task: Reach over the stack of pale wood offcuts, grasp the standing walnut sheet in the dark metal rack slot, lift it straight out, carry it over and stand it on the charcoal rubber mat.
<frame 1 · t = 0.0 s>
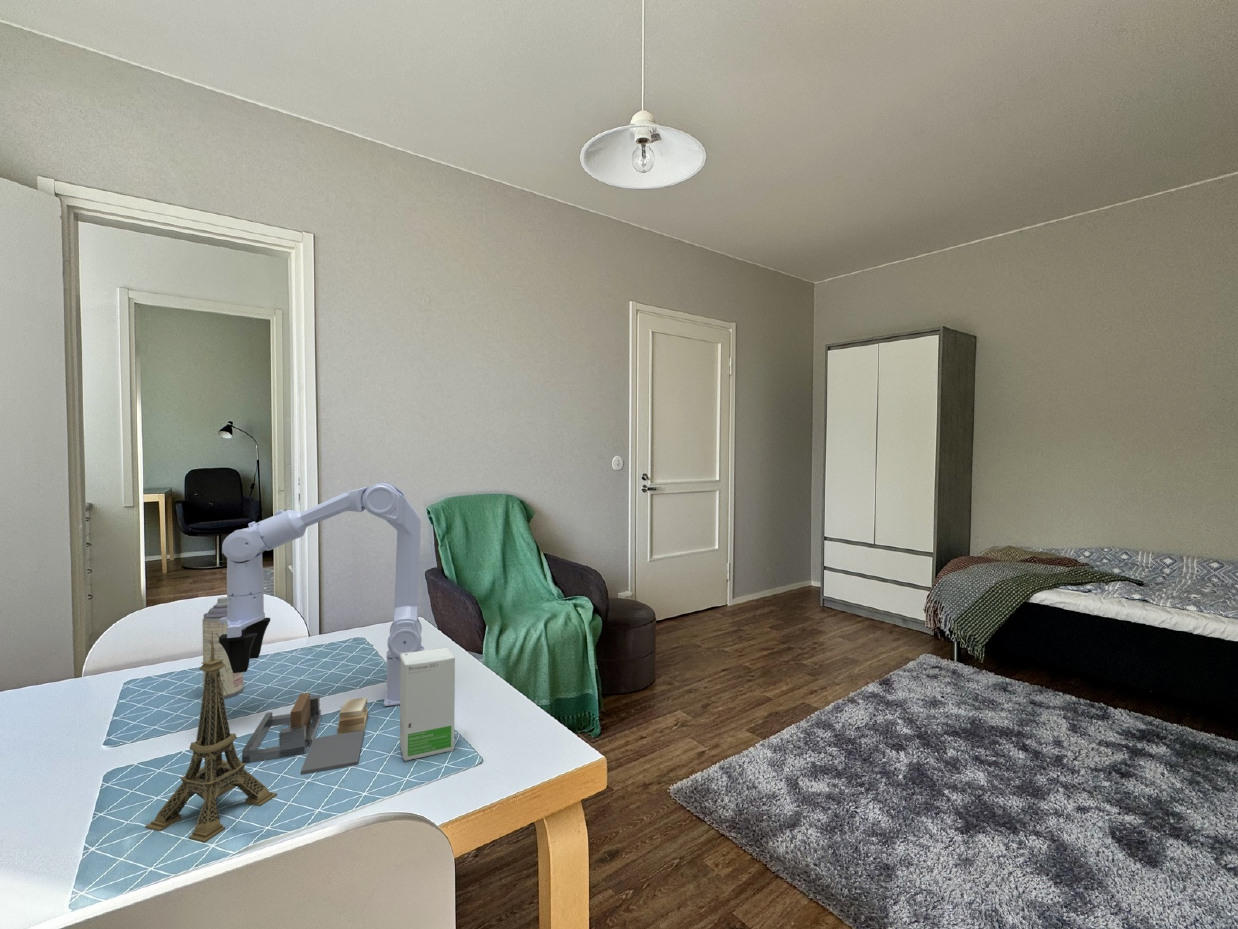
hand: (246, 665, 106), 10 cm above the table, tool pointing down, fingers open, 7 cm apart
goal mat: (334, 752, 93), on the table
eiffel tower: (214, 812, 78), on the table
rack: (320, 732, 100), on the table
offcut stack: (353, 724, 103), on the table
skincare box: (427, 748, 94), on the table
walnut sheet: (301, 736, 99), resting in rack
aerosol can: (223, 694, 117), on the table
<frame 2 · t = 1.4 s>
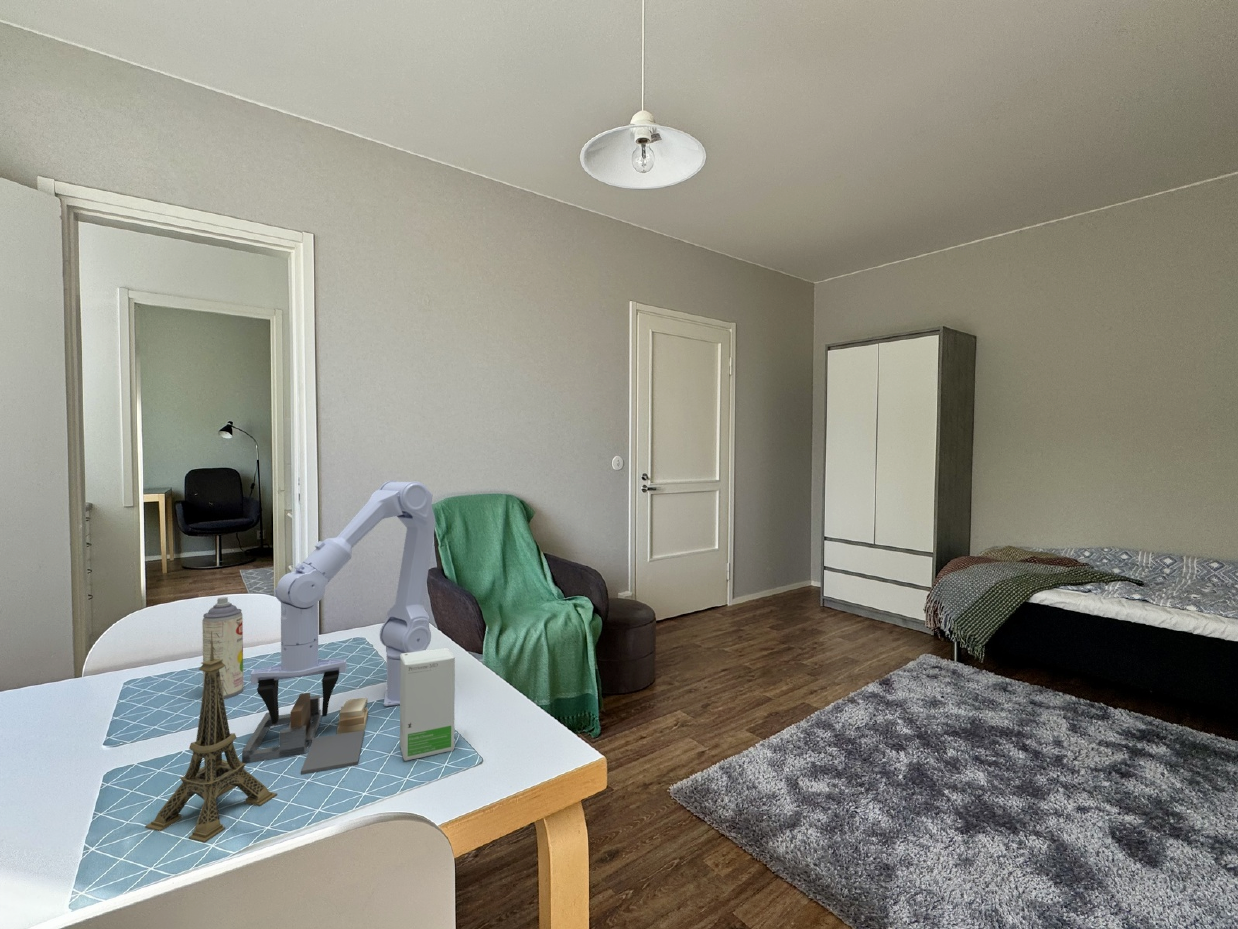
hand: (300, 717, 99), 3 cm above the table, tool pointing down, fingers open, 7 cm apart
nothing on the table moved.
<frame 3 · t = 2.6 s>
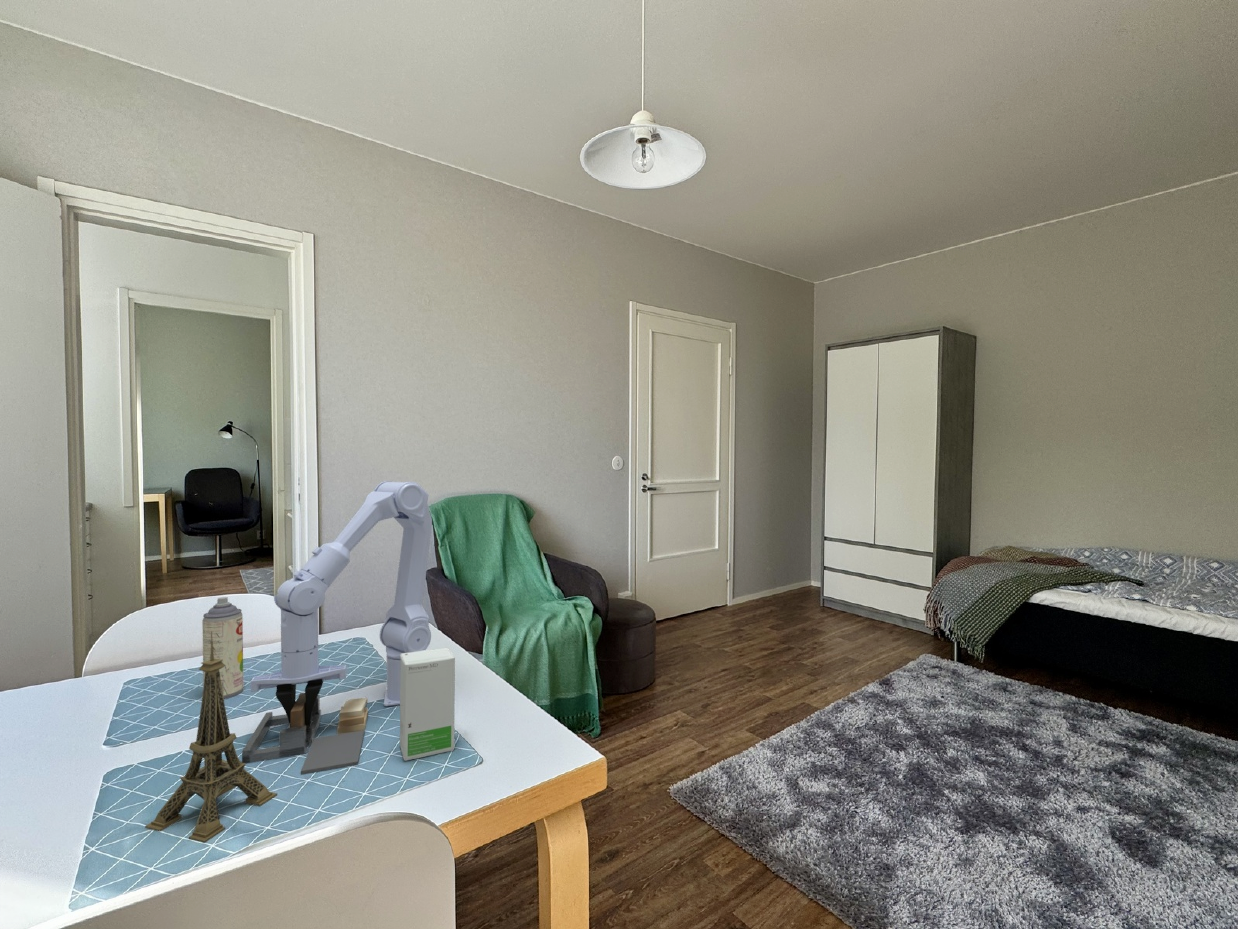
hand: (301, 724, 99), 2 cm above the table, tool pointing down, fingers closed on walnut sheet, 2 cm apart
walnut sheet: (301, 735, 99), resting in rack, touching gripper
everything else where it was.
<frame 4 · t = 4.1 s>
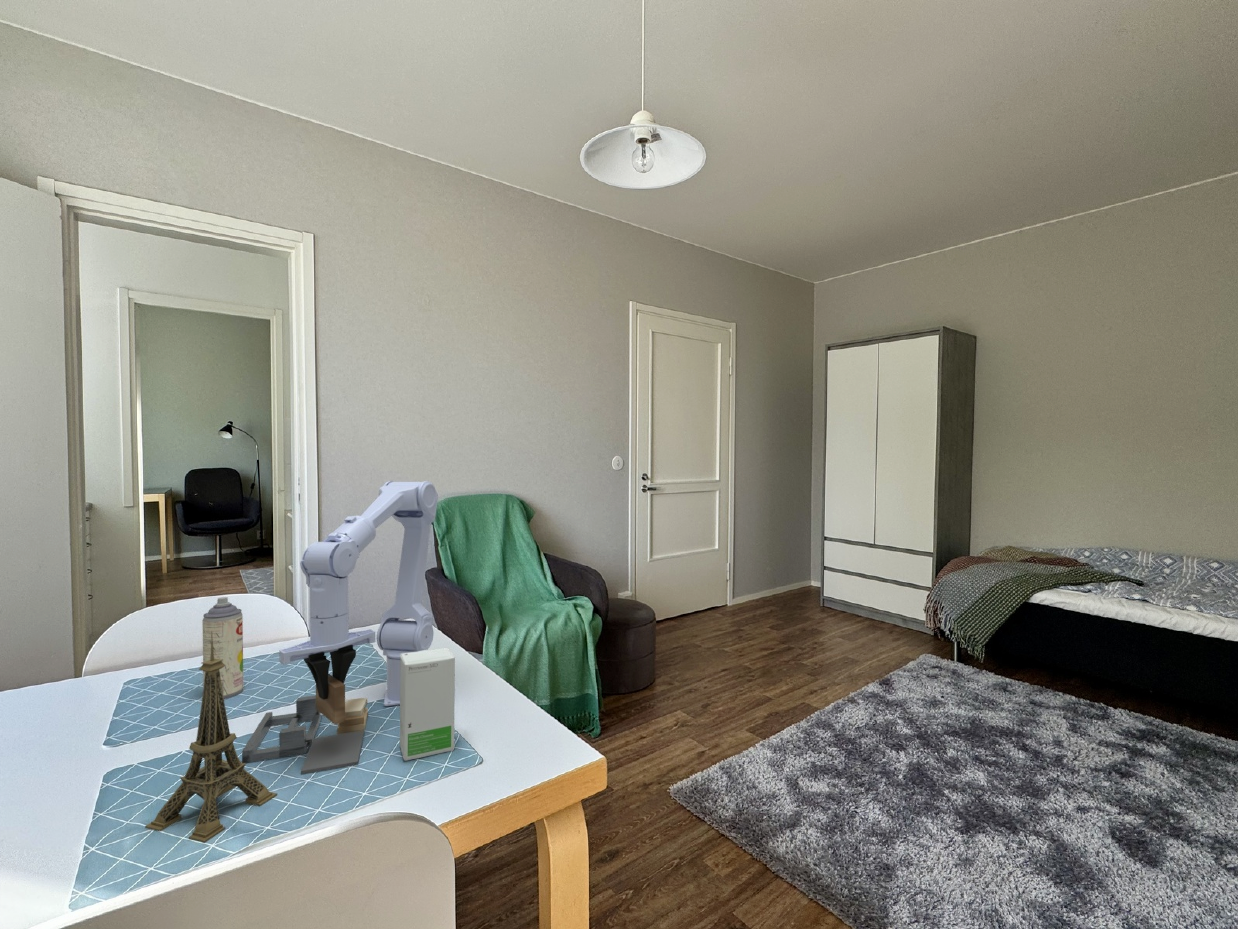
hand: (330, 695, 93), 9 cm above the table, tool pointing down, fingers closed on walnut sheet
walnut sheet: (330, 715, 94), point 6 cm above the table, touching gripper
everything else where it was.
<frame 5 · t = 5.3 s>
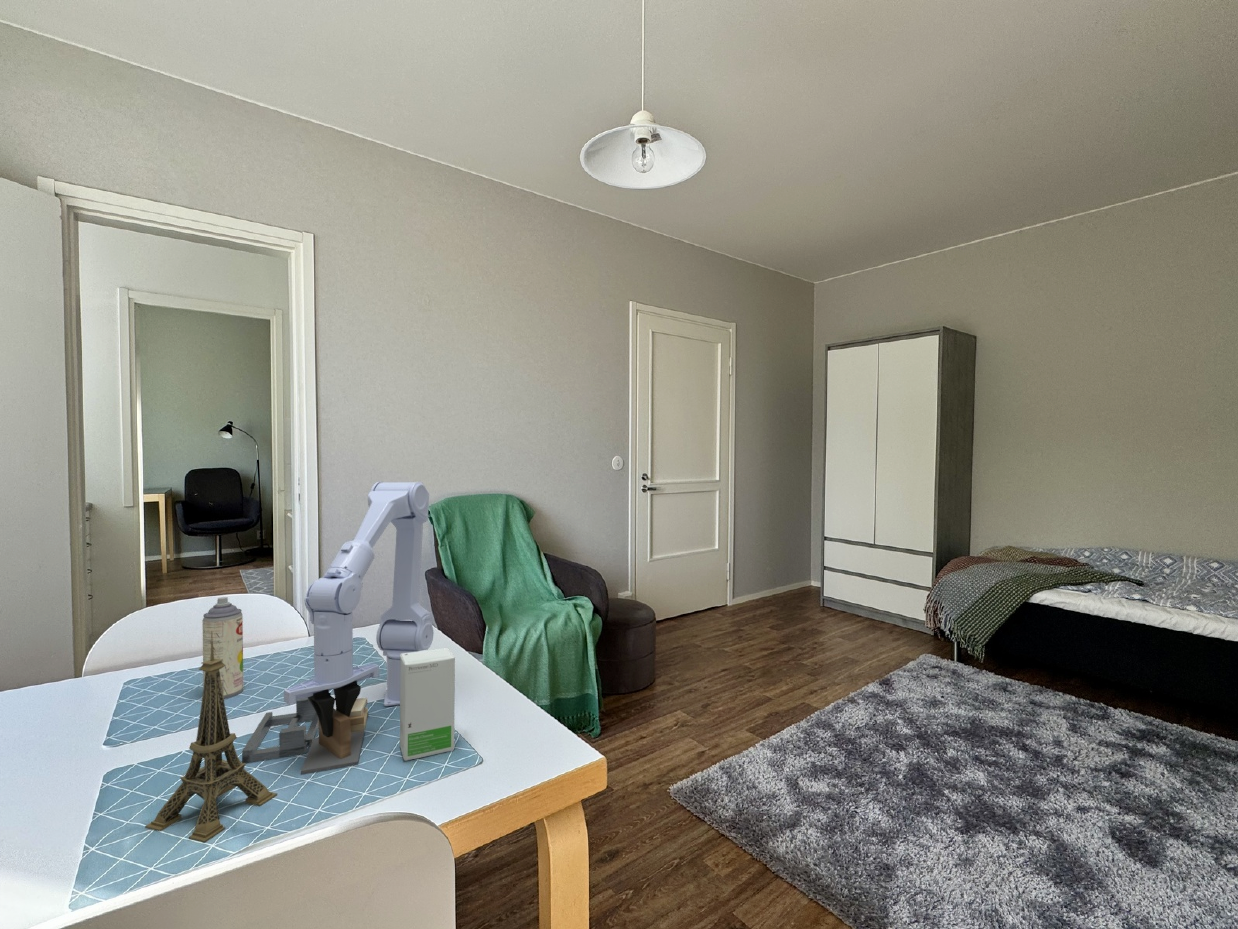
hand: (334, 732, 93), 3 cm above the table, tool pointing down, fingers closed on walnut sheet, 2 cm apart
walnut sheet: (334, 749, 93), resting on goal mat, touching gripper
everything else where it was.
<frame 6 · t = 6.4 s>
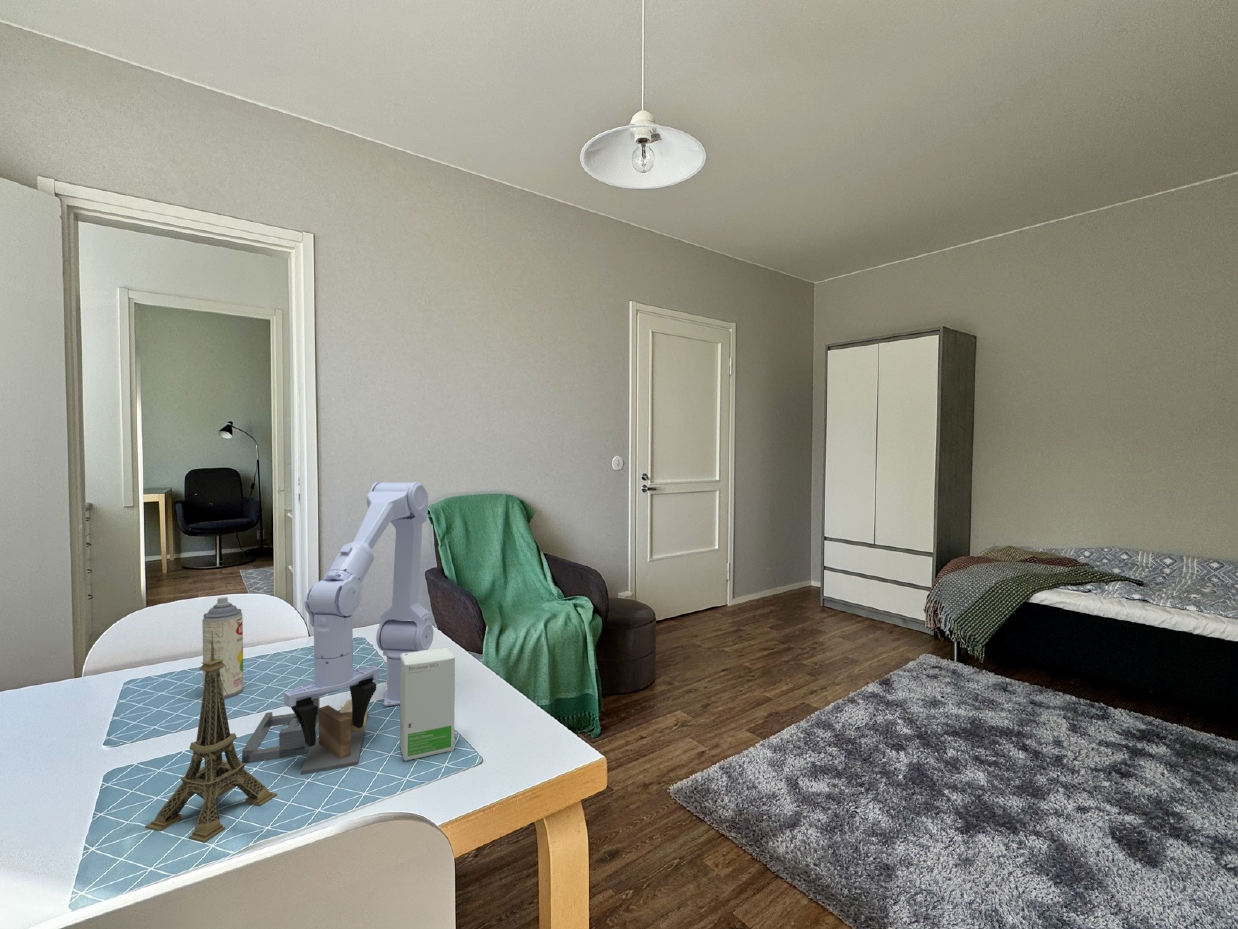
hand: (334, 734, 93), 3 cm above the table, tool pointing down, fingers open, 7 cm apart
walnut sheet: (334, 749, 93), resting on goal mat
everything else where it was.
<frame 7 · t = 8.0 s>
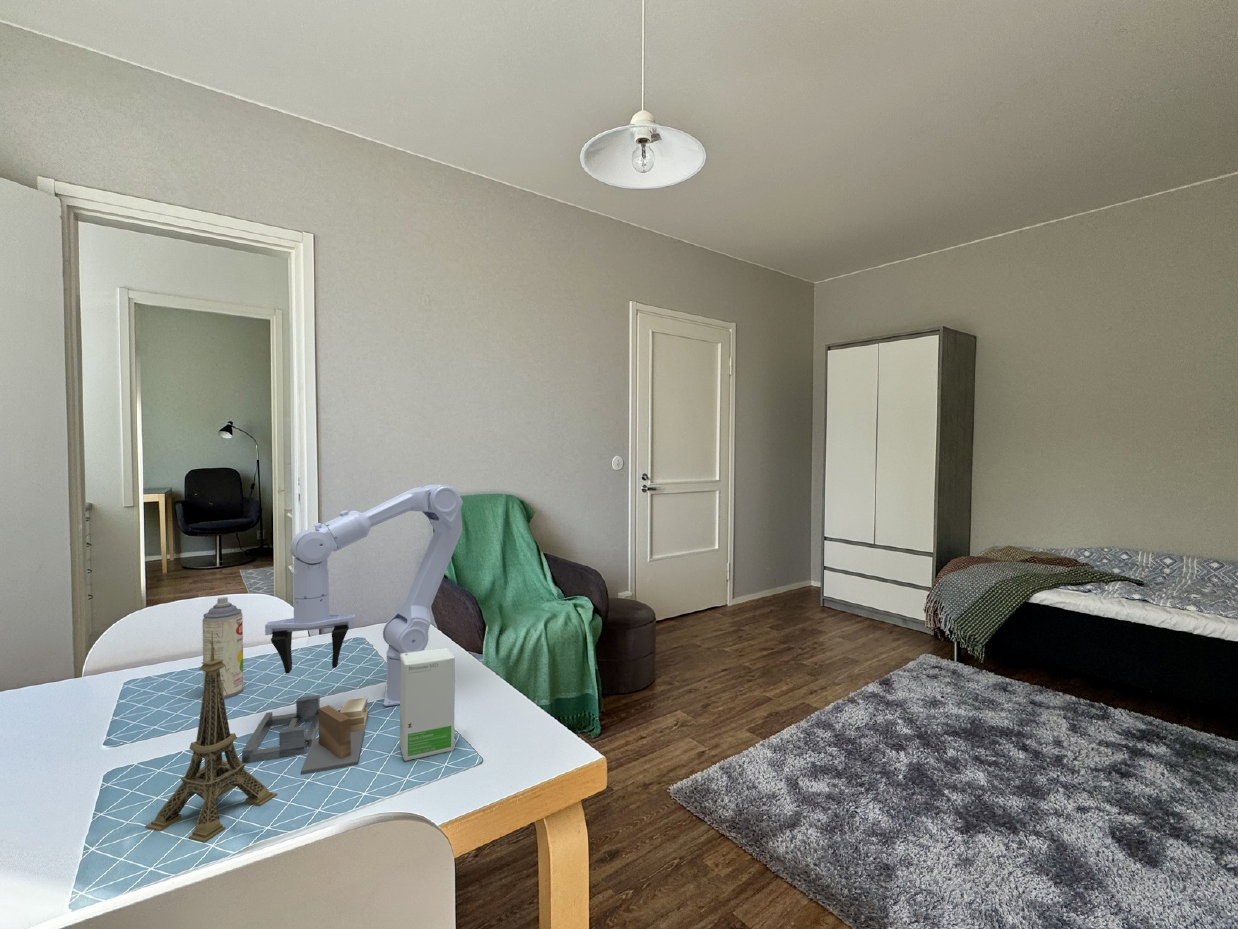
hand: (312, 668, 104), 10 cm above the table, tool pointing down, fingers open, 7 cm apart
nothing on the table moved.
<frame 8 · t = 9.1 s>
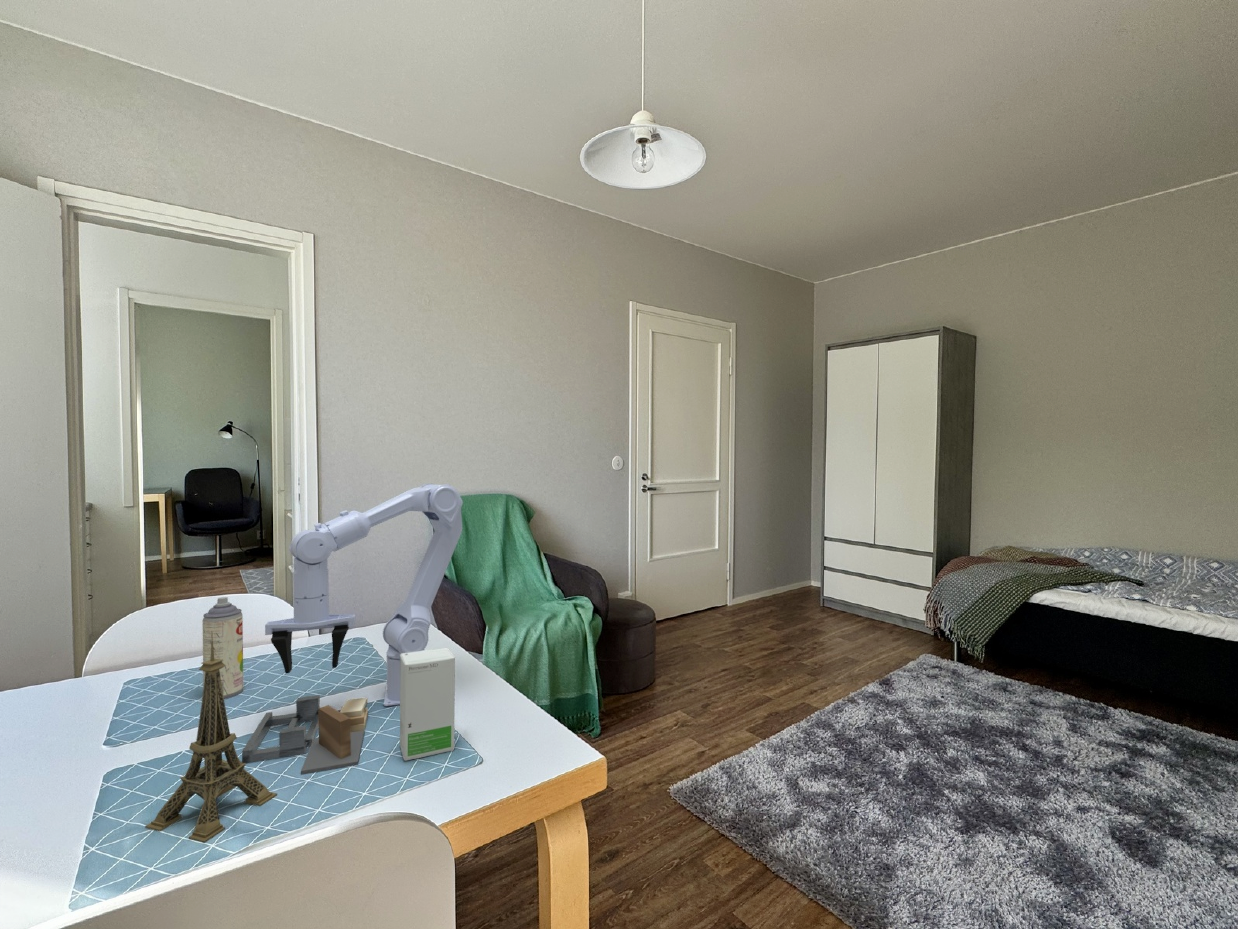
hand: (312, 668, 104), 10 cm above the table, tool pointing down, fingers open, 7 cm apart
nothing on the table moved.
at the end: walnut sheet inside the target area on the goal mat (0.1 cm from its centre), point 0.5 cm above the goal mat's base; the gripper is holding nothing; walnut sheet touching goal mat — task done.
